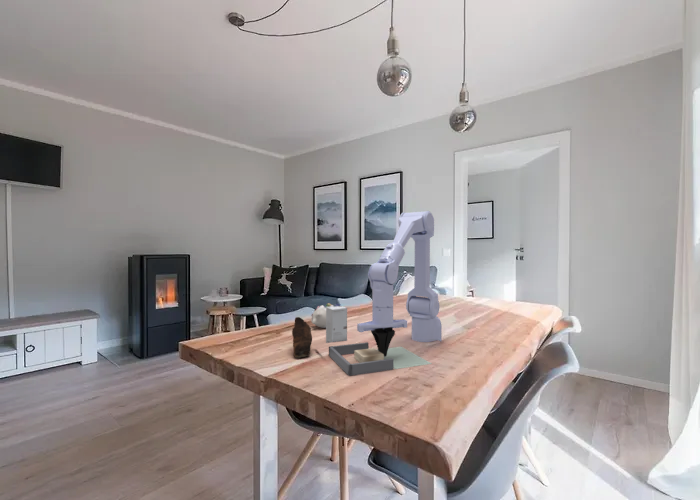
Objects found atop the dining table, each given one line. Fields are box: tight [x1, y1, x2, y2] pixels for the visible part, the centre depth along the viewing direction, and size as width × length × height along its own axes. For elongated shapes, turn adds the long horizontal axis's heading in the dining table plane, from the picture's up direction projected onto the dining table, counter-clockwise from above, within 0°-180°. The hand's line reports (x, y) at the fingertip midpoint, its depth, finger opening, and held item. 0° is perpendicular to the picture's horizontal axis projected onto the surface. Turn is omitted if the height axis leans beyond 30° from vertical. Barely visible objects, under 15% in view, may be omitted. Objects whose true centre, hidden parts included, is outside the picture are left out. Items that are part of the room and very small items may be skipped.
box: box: [328, 341, 394, 377], centre depth 89 cm, size 12×16×4 cm
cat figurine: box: [311, 302, 335, 329], centre depth 134 cm, size 10×8×15 cm
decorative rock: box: [291, 316, 313, 359], centre depth 101 cm, size 12×6×11 cm, turn 6°
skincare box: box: [325, 305, 348, 344], centre depth 110 cm, size 6×4×12 cm
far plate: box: [376, 346, 432, 370], centre depth 93 cm, size 11×16×2 cm
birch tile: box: [353, 347, 384, 363], centre depth 90 cm, size 6×6×3 cm
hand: (382, 355), depth 91 cm, fingers closed
